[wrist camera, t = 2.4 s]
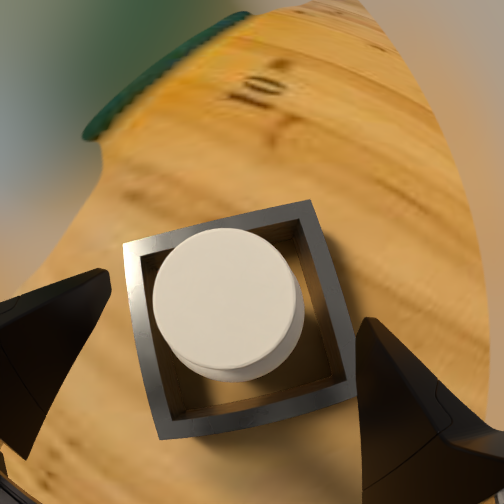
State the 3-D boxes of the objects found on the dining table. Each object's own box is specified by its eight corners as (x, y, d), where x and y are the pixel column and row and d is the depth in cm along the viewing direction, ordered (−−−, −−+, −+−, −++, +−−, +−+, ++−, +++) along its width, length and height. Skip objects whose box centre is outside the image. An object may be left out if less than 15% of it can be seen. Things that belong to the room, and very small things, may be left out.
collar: (350, 385, 15) (368, 391, 12) (174, 426, 14) (159, 440, 12) (302, 221, 19) (310, 199, 16) (141, 259, 18) (122, 243, 15)
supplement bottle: (293, 290, 17) (336, 224, 8) (275, 377, 16) (301, 414, 6) (208, 272, 18) (161, 191, 9) (186, 356, 16) (109, 361, 7)
